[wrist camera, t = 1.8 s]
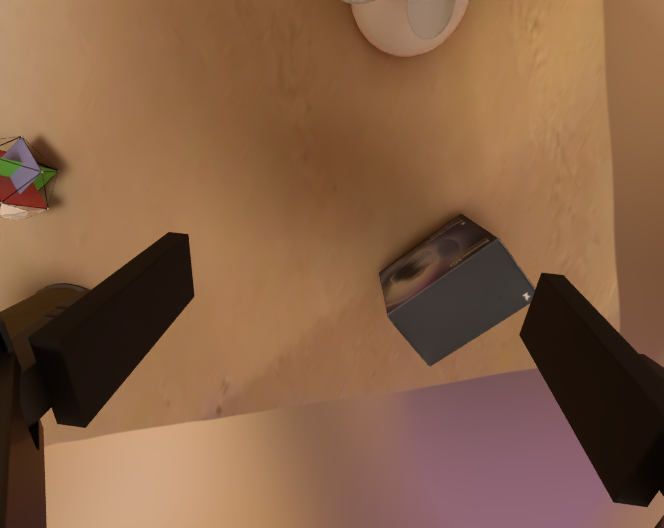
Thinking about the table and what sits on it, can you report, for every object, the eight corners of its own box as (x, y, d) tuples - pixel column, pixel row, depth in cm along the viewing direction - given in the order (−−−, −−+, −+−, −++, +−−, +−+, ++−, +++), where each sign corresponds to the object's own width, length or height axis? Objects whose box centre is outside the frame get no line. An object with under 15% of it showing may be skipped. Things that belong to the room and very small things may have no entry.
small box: (460, 208, 38) (500, 233, 28) (496, 257, 39) (546, 298, 29) (375, 271, 40) (384, 315, 30) (411, 315, 42) (431, 371, 32)
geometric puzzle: (-49, 153, 36) (-77, 205, 31) (-6, 104, 34) (-27, 151, 30) (35, 195, 41) (23, 245, 36) (76, 154, 40) (69, 201, 35)
